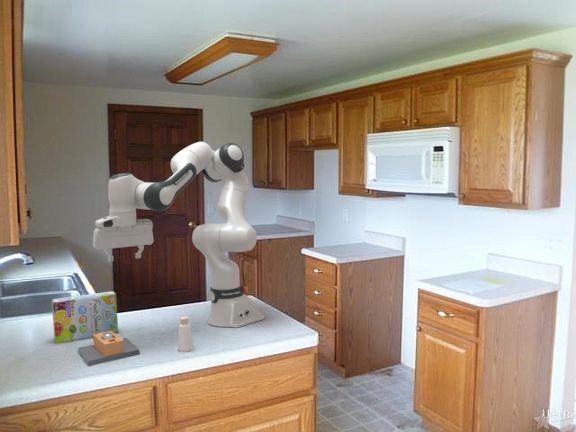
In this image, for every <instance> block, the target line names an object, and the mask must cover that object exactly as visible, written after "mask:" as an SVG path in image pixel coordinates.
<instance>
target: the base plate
mask: <svg viewBox="0 0 576 432" xmlns="http://www.w3.org/2000/svg"><path fill="white" fill-rule="evenodd" d="M122 339H123V340H124V352H122V353H118V354H114V355H110V356H106V357H105V356H104V355H103V354H102V353H101V352H100V351H99V350H98V349H97V348H96V347H94V344H90V345H86V346H81V347H78V348H77V352H78V353H79V355H80V356H81V358H82V360H84V362H85V363H86V364H87V366H94V365H98V364H102V363H107V362H111V361H115V360H119V359H123V358H128V357H133V356H137V355H140V348H138V346H136V345H135V344H134V343H133V342H132V341H130V340H129V339H128V338H127V337H123V338H122Z"/></svg>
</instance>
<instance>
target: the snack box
mask: <svg viewBox="0 0 576 432" xmlns="http://www.w3.org/2000/svg"><path fill="white" fill-rule="evenodd" d="M117 307H118V306H117V293H116V292H114V290H112V291H106V292H105V291H104V292H98V293H89V294H81V295H75V296H68V297H67V296H65V297H59V298H53V299H51V308H52V309H51V311H52V322H53V323H52V325H53V326H52V327H53V336H54V337H53V338H54V342H55V344H60V343H64V342H65V343H66V342H72V341H78V340H84V339H89V338H93V334H98V333H103V332H107V331H112V332H114V333H115V334H118V333H119V325H118V322H119V321H118V310H117V309H118V308H117Z"/></svg>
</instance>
